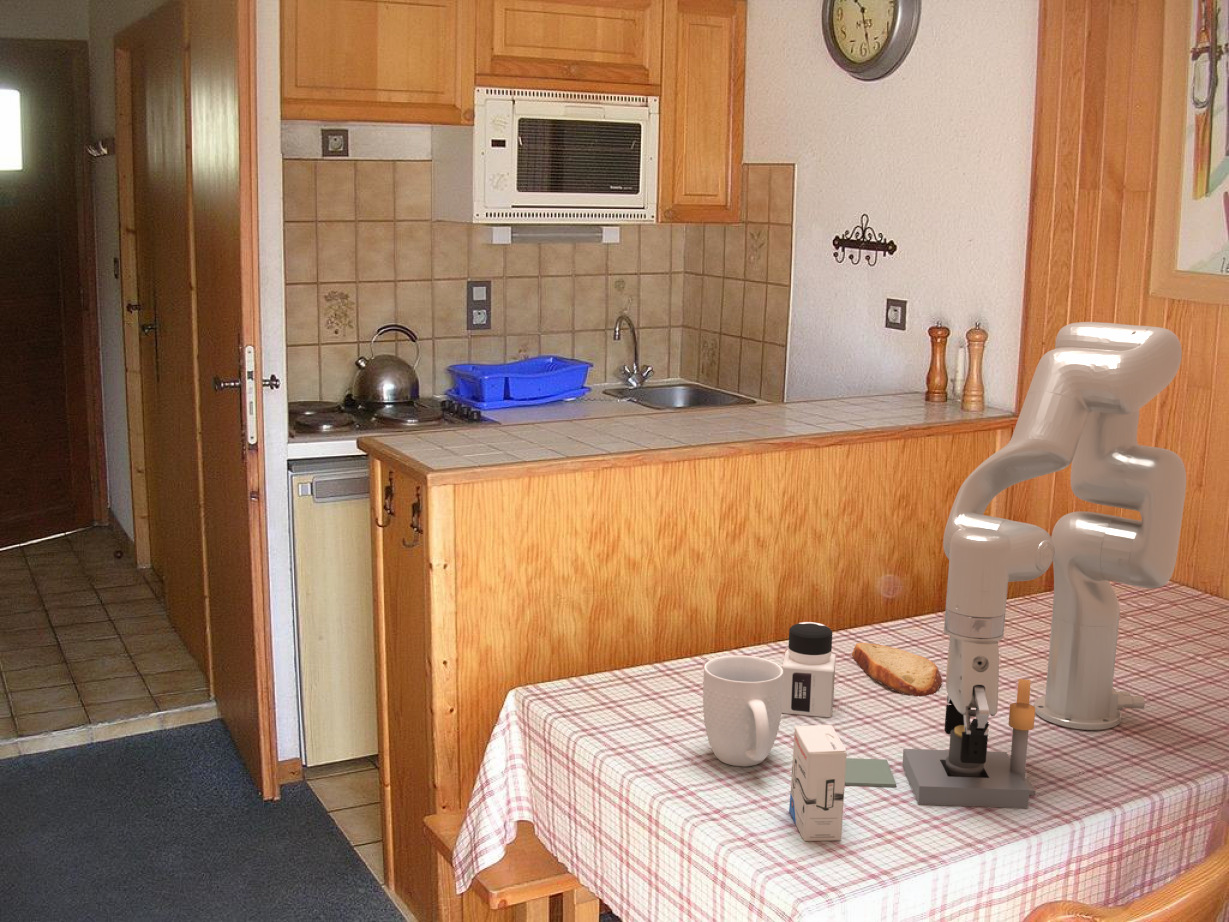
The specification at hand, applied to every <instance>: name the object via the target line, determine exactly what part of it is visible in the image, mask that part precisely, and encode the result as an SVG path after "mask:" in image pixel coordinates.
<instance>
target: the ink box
mask: <svg viewBox="0 0 1229 922" xmlns="http://www.w3.org/2000/svg"><path fill="white" fill-rule="evenodd" d="M793 734H794V735H793V747H792V749H793V751H792V764H791V766H792V767H791V781H790V783H791V784H790V795H789V808H788V809H789V810H788V811H789V814H790V816H791V817H792V820H793V821H794V824H795V825H796V828H797V829H798V832H799V833H800V836H801V839H803V841H804V842H817V841H818V842H819V841H820V842H822V841H823V842H826V841H827V842H828V841H842V834H843V832H842V831H843V830H842V829H843V816H844V815H843V814H844V802H845V801H844V800H845V787H846V785H845V771H846V758H847V753H848V752H847V748H846V747H845V745H844V744H843V742H842V740H841V739H840V736H839V734H837V731H836V729H835V728H834V726H833V725H831V724H818V725H815V724H814V725H813V724H812V725H795V726H794V733H793Z"/></svg>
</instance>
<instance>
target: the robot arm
mask: <svg viewBox="0 0 1229 922" xmlns="http://www.w3.org/2000/svg"><path fill="white" fill-rule="evenodd" d="M1182 354H1183V351H1182V344H1181V341H1180V339H1179V337H1178V336H1177V335H1176V334H1175V332H1173V330H1171V329H1170V330H1169V329H1168V328H1165V327H1158V326H1152V325H1151V326H1149V325H1136V324H1135V325H1134V324H1125V323H1124V324H1123V323H1112V322H1100V321H1099V322H1098V321H1080V322H1072V323H1069V324H1067V325H1064V326H1062V328H1060V329H1059V330H1058V332H1057V334H1056V337H1055V346H1054V349H1051V350H1049V351H1047V352H1046V353H1044V354H1043V355H1042V356H1041V358H1040V359H1039V361H1038V363H1037V366H1036V367H1035V368H1036V369H1035V370H1034V374H1033V376H1032V380H1031V382H1030V385H1029V386H1028V387H1029V388H1028V391H1027V392H1026V396H1025V398H1024V401H1023V405H1022V407H1021V410H1020V412H1019V416H1018V417H1017V418H1018V419H1017V421H1016V424H1015V427H1014V430H1013V432H1012V436H1011V439H1010V440H1009V442H1008V443H1007V444H1006V445H1004V446H1003V447H1001V448H1000V449H999V450H997V451H996V452H994V453H993V454H991V455H989V457H987V458H986V459H985V460H984V461H983V462H982V463H980V464H979V465H978V466H977V467H975V469H974V470H973V471H972V472H971V473H970V474H969V475H968V476H967V477H966V478H965V480H964V481H963V483H962V484H961V486H960V487H959V489H958V491H957V494H956V496H955V498H954V502H953V504H952V507H951V509H950V512H949V515H948V518H947V521H946V525H945V528H944V533H943V539H942V540H943V541H942V545H943V551H944V554H945V556H946V558H947V559H948V560H949V561H948V573H947V574H948V575H947V585H946V587H947V588H946V600H945V612H944V613H945V614H944V624H943V625H944V627H943V632H944V634H946V636H949V642H948V643H949V644H948V653H947V663H946V675H945V676H946V678H945V689H946V693H947V696H946V703H947V704H946V705H945V718H944V719H945V720H944V733H945V734H946V735H950V732H951V730H953V729H955V727H956V726H959V725H964V727H965V732H962V738H961V751H960V760H961V762H962V763H976V764H984V763H985V762H986V754H987V751H988V742H989V739H988V738H989V726H990V724H989V721H988V720H989V717H990V716H991V717H994V716H996V715H997V713H998V705H999V704H998V703H999V678H1000V675H999V674H1000V655H999V654H1000V653H999V652H1000V651H999V641H1001V640H1003V639H1004V634H1005V622H1006V611H1007V601H1008V600H1007V598H1008V590H1009V589H1008V587H1009V586H1008V584H1009V582H1011V583H1012V582H1026V581H1027V582H1028V581H1032V580H1035V579H1037V578H1039V577H1041V576H1042V575H1043V574H1045V573H1046V572H1047V571H1048V569H1049V568H1050V567H1051V565H1052V564H1053V602H1052V611H1051V612H1052V616H1051V623H1050V624H1051V626H1050V638H1049V649H1048V660H1047V661H1048V663H1047V673H1046V674H1047V675H1046V685H1045V694H1043V695H1041V696H1039V697H1037V698H1036V699H1034V702H1033V706H1034V707H1035V715H1037V716H1038V717H1039V718H1041V719H1043V720H1045V721H1047V722H1049V723H1051V724H1055V725H1056V726H1057V725H1058V726H1061V727H1065V728H1068V729H1069V728H1070V729H1077V730H1085V731H1086V730H1087V731H1097V730H1098V731H1101V730H1107V729H1112V728H1114V727H1116V726H1118V725H1119V724H1120V723H1121V720H1122V712H1121V711H1122V710H1124V708H1128V709H1129V708H1130V709H1142V710H1144V709H1145V706H1146V705H1145V704H1146V700H1145V697H1144V695H1131V692H1130V691H1117V690H1116V689H1115V688H1114V680H1115V679H1114V677H1115V666H1116V656H1117V654H1116V653H1117V645H1118V636H1119V635H1118V633H1119V624H1120V623H1119V622H1120V616H1121V615H1120V614H1121V612H1120V611H1121V609H1120V603H1119V599H1118V596H1117V594H1116V592H1115V590H1114V587H1113V585H1112V584H1111V582H1114V583H1120V584H1124V585H1126V586H1127V585H1128V586H1134V587H1139V588H1143V589H1159V588H1161V587H1165V585H1167V583H1168V582H1169V581H1170V580H1171V578H1172V576H1173V574H1174V570H1175V567H1176V563H1177V559H1178V558H1177V557H1178V550H1179V544H1180V537H1181V530H1182V529H1181V528H1182V521H1183V514H1184V513H1183V512H1184V508H1185V507H1184V506H1185V500H1186V498H1185V497H1186V493H1187V492H1186V489H1187V473H1186V472H1187V470H1186V468H1185V467H1186V466H1185V464H1184V462H1183V459H1182V458H1181V457H1180V456H1179V455H1178V453H1176V452H1175V451H1173V450H1170V449H1166V448H1163V447H1156V446H1148V445H1141V444H1139V443H1138V429H1139V420H1140V409H1142V408H1143V407H1144V406H1145V405H1147V404H1148V403H1149V402H1150V401H1151V400H1153V399H1154V398H1155V397H1156V396H1157V395H1159V394H1160V393H1161V392H1162V391H1163V390H1164V389H1166V388H1167V387H1168V386H1169V385H1170V384H1171V382H1173V380H1174V379H1175V377H1176V376H1177V373H1178V371H1179V370H1180V367H1181V364H1182V357H1183V356H1182ZM1070 465H1071V467H1070ZM1068 467H1070V488H1071V491H1072V493H1073V495H1074V496H1075V497H1077V498H1078V499H1079V500H1082V501H1083V502H1087V503H1091V504H1097V505H1101V506H1107V507H1112V508H1119V509H1124V510H1130V511H1136V512H1139V514H1140V517H1141V520H1138V519H1133V518H1128V517H1127V518H1126V517H1121V516H1119V515H1118V516H1117V515H1113V514H1112V515H1111V514H1106V513H1105V514H1104V513H1101V512H1100V513H1099V512H1094V511H1084V510H1083V511H1082V510H1081V511H1073V512H1069V513H1066V514H1065V515H1062V516H1061V517H1060V518H1059V519H1058V520H1057V522H1056V523H1055V525H1054V527H1053V529H1052V533H1051V535H1050V533H1049V532H1048V531H1047V530H1045V529H1044V528H1042V527H1040V526H1038V525H1035V524H1032V523H1027V522H1023V521H1016V520H1011V519H1006V518H1002V517H996V516H991V515H985V514H984V513H985V511H986V510H987V507H988V506H989V505H990V503H991V502H992V500H994V498H995V497H997V496H998V495H999V494H1000V493H1001V492H1003V491H1005V490H1006V489H1008V488H1010V487H1012V486H1014V485H1016V484H1019V483H1021V482H1025V481H1028V480H1032V479H1035V478H1039V477H1042V476H1045V475H1049V474H1053V473H1054V474H1055V473H1056V472H1060V471H1062V470H1065V469H1066V468H1068ZM971 718H973V719H972V721H971Z"/></svg>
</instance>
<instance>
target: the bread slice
mask: <svg viewBox="0 0 1229 922" xmlns="http://www.w3.org/2000/svg"><path fill="white" fill-rule="evenodd" d="M851 656H852V658H853V660H854V662H855V663H856V664H857V665H858V666H859V667H860V668H861V669H862V670H863V672H865V674H867V675H868V676H869V677H870V678H871V679H873V680H874V681H875V682H878V683H880V684H881V685H882V686H883V687H887V688H889V689H891V690H892V691H894V692H897V693H900V694H902V695H906V696H913V697H918V696H919V697H926V696H931V695H934V693H935V694H936V693H937V692H938V690H939V687H940V686H941V685H942V684H943V679H942V678H943V677H942V675H941V673H940V669H939V668H938V666H937V665H936V663H934V662H933V661H932V660H930V659H928V658H926V657H925V656H923V655H917V654H915V653H912V652H909V651H907V650H904V649H902V648H901V649H900V648H897V647H892V646H888V645H883V644H879V643H869V642H868V643H867V642H858V643H856V644H855V645H854V648H853V651H852V653H851Z"/></svg>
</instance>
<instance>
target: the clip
mask: <svg viewBox="0 0 1229 922" xmlns="http://www.w3.org/2000/svg"><path fill="white" fill-rule="evenodd" d="M1017 682H1018V683H1017V692H1016V693H1017V695H1016V702H1011V704H1009V711H1008V726H1009V727H1010V728H1012V729H1013V728H1014V729H1018V730H1029V731H1031V730H1033V729H1034V728H1035V717H1036V713H1035V707H1034V705H1032V704H1030V696H1031V695H1030V694H1031V679H1024V678H1018V681H1017Z"/></svg>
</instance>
